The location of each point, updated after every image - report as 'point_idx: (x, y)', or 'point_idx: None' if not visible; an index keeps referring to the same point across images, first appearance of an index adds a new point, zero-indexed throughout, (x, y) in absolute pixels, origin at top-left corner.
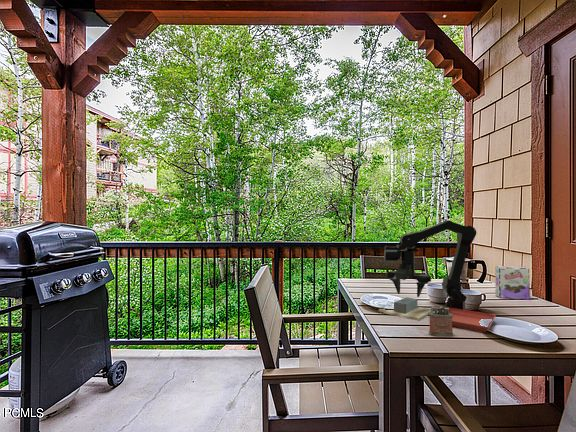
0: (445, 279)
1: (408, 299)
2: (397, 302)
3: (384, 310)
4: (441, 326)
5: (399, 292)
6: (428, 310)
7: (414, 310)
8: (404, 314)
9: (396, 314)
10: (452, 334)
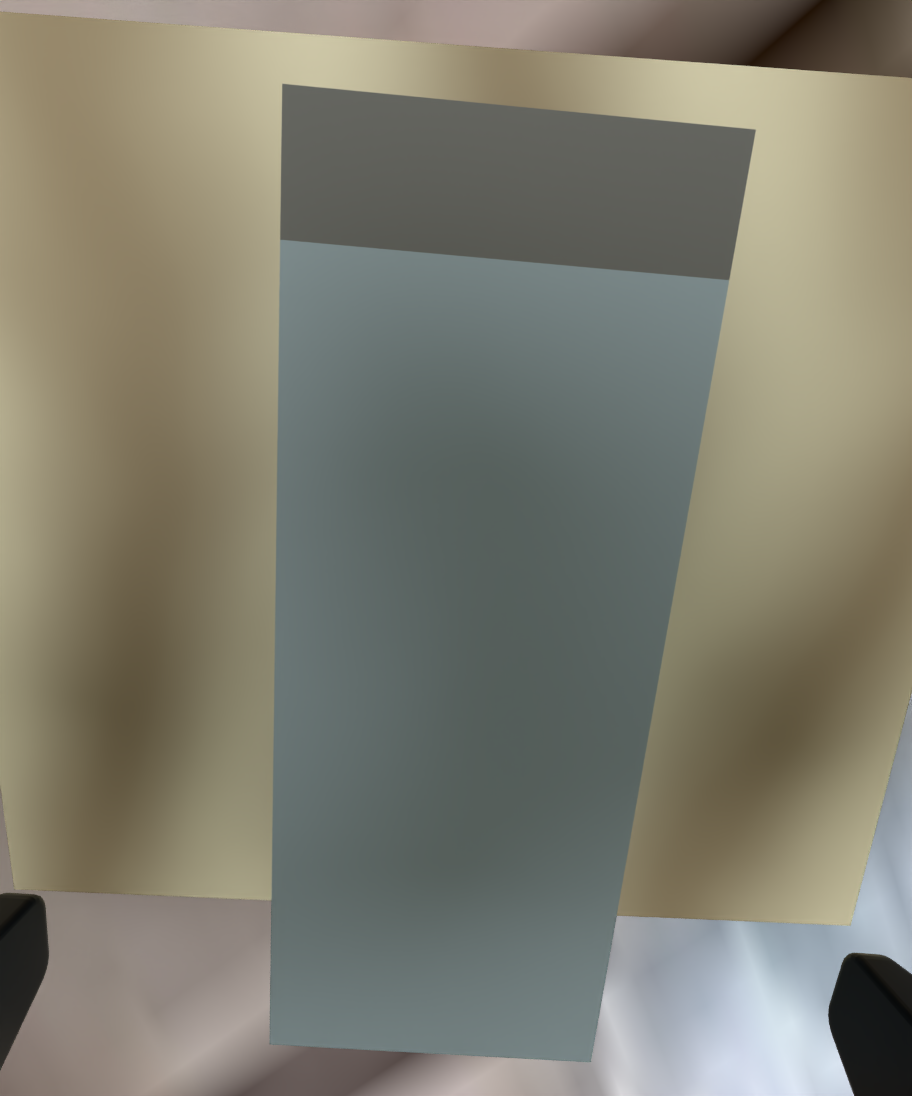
0: None
1: (455, 859)
2: (625, 218)
3: (898, 117)
4: None
5: (853, 1046)
6: (57, 806)
7: None
8: None
9: (526, 65)
10: None
